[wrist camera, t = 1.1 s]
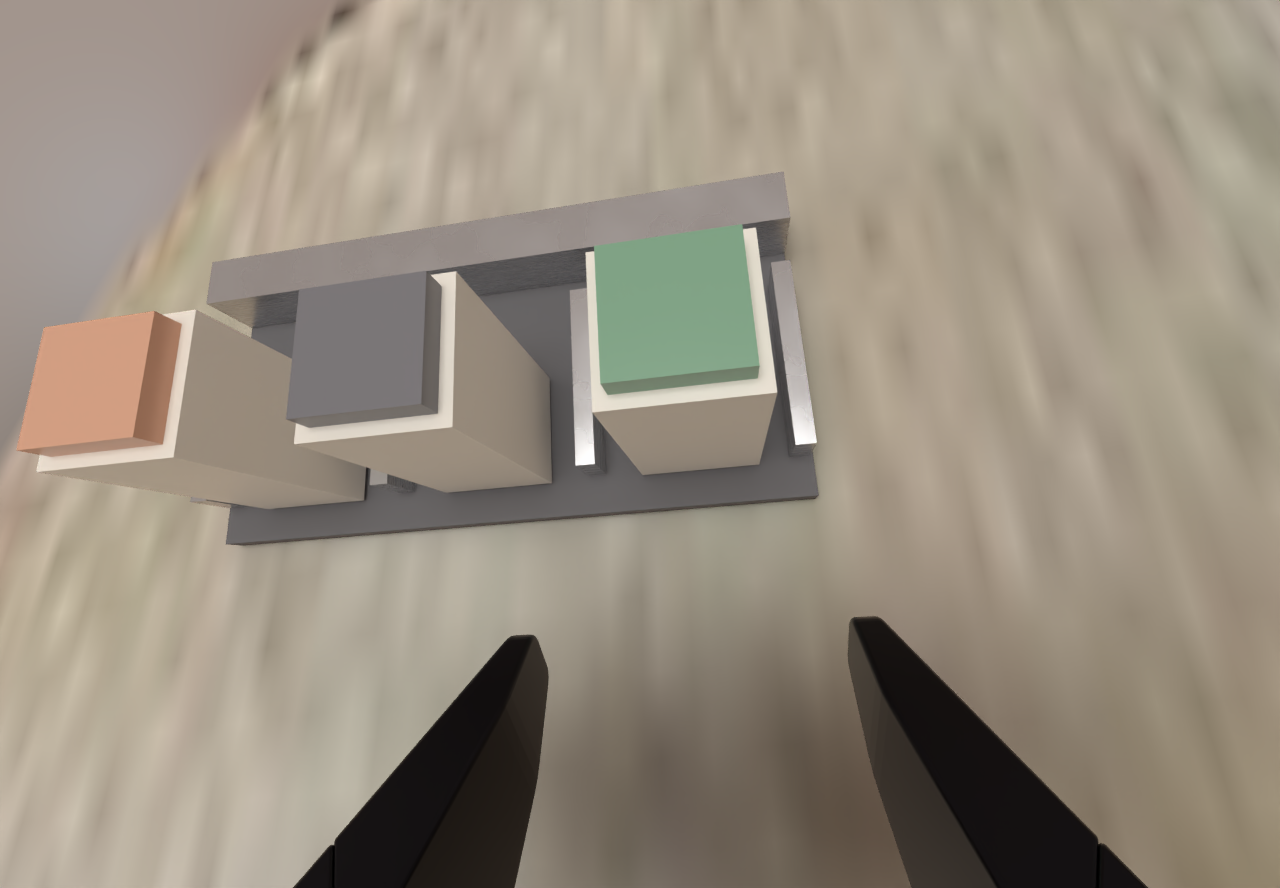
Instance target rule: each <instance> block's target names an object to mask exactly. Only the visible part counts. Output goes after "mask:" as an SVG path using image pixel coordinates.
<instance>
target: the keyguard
mask: <svg viewBox="0 0 1280 888" xmlns="http://www.w3.org/2000/svg"><path fill="white" fill-rule="evenodd" d="M789 222H790V212H789V205H788V198H787V192H786V185H785V178H784V172H778V173H771V174H765V175H759V176H753V177H746V178H740V179H734V180H727V181H721V182H715V183H709V184H702V185H696V186H690V187H683V188H677V189H671V190H664V191H658V192H652V193H646V194H639V195H633V196H627V197H620V198H614V199H608V200H602V201H595V202H589V203H583V204H576V205H570V206H564V207H557V208H551V209H545V210H539V211H532V212H526V213H520V214H513V215H507V216H501V217H495V218H488V219H482V220H476V221H469V222H463V223H457V224H450V225H444V226H438V227H432V228H425V229H419V230H413V231H406V232H400V233H394V234H388V235H381V236H375V237H369V238H362V239H356V240H350V241H343V242H337V243H331V244H325V245H318V246H312V247H306V248H299V249H293V250H287V251H281V252H274V253H268V254H262V255H255V256H249V257H243V258H236V259H230V260H224V261H218V262H213V263H212V270H211V277H210V283H209V290H208V297H207V304H208V305H210V306H212V307H214V308H215V309H217V310H219V311H221V312H223V313H225V314H227V315H229V316H230V317H232V318H234V319H236V320H238V321H240V322H242V323H244V324H245V325H247V326H249V327H251V328H258V327H265V326H272V325H280V324H287V323H294V322H296V315H297V306H298V296H299V289H305V288H312V287H319V286H326V285H332V284H339V283H346V282H353V281H359V280H366V279H373V278H380V277H386V276H393V275H400V274H407V273H413V272H420V271H427V272H428V273H429V274H430V275H434V274H441V273H448V272H454V271H456V272H457V273H458V274H459V275H460V276H461V277H462V279H463V280H464V281H465V282H466V283H467V284H468V285H469V287H470V288H471V289H472V290H473V291H474V292H475V293H476V295H477V296H478V297H480V296H487V295H495V294H502V293H509V292H516V291H523V290H530V289H538V288H545V287H552V286H559V285H566V284H573V283H581V282H587V276H586V252H592V251H594V246H597V245H604V244H611V243H618V242H624V241H631V240H638V239H645V238H652V237H658V236H665V235H672V234H679V233H685V232H692V231H699V230H706V229H712V228H719V227H726V226H733V225H739V224H742V227H743V229H749V228H756V232H757V240H758V248H759V255H760V257H767V256H774V255H781V254H784V252H785V246H786V240H787V234H788V228H789ZM767 290H768V298H769V305H770V313H771V321H772V328H773V336H774V343H775V351H776V358H777V366H778V374H779V381H780V389H781V396H782V404H783V412H784V419H785V427H786V434H787V442H788V450H789V457H801V456H809V455H810V453H811V451H812V450H813V448H814V447H815V445H816V443H817V440H816V434H815V427H814V420H813V413H812V406H811V399H810V392H809V385H808V379H807V372H806V365H805V358H804V351H803V344H802V337H801V330H800V324H799V317H798V310H797V303H796V296H795V289H794V282H793V275H792V269H791V262H790V260H786V261H778V262H771V266H770V274H769V281H768V289H767ZM570 312H571V342H572V372H573V402H574V433H575V463H576V466H577V467H578V468H579V469H581V470H582V471H583V472H585V473H586V474H587V475H588V476H594V475H605V474H606V453H605V432H604V426H603V425H602V424H601V423H600V422H599V420H598V419H597V418H596V417H595V415H594V414H593V413H592V395H591V371H590V348H589V324H588V300H587V288H583V289H576V290H570ZM370 485H371V486H375V487H378V488H382V489H386V490H389V491H393V492H397V493H409V492H416V483H414V482H411V481H408V480H405V479H402V478H398V477H395V476H392V475H389V474H386V473H383V472H380V471H376V470H373V469H371V472H370ZM190 502H193V503H199V504H206V505H213V506H219V507H226V508H233V509H234V508H245V507H248V506H245V505H239V504H233V503H226V502H220V501H214V500H208V499H201V498H195V497H191V501H190Z"/></svg>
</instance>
